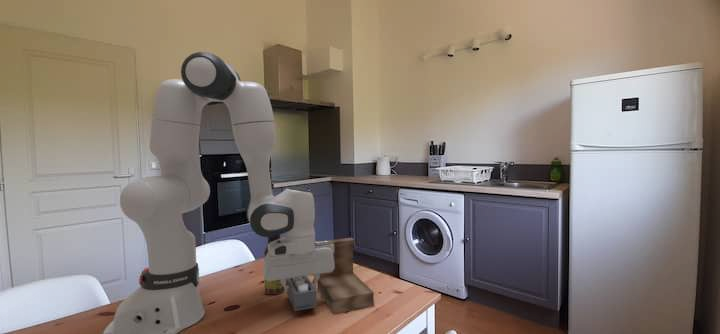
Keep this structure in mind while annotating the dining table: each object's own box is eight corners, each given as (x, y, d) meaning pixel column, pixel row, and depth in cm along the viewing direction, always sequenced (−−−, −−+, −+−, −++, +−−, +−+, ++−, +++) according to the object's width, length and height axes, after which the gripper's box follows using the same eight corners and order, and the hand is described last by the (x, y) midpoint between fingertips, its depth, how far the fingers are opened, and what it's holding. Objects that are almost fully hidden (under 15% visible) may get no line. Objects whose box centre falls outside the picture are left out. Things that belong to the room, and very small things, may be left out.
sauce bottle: (279, 296, 101) (277, 232, 100) (261, 294, 102) (259, 232, 101) (288, 287, 107) (286, 227, 106) (270, 286, 108) (269, 227, 107)
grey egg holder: (294, 311, 86) (294, 291, 86) (285, 290, 99) (285, 273, 99) (316, 306, 89) (316, 287, 88) (305, 287, 102) (305, 270, 101)
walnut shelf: (333, 314, 89) (332, 258, 88) (317, 289, 105) (316, 241, 105) (373, 306, 93) (372, 252, 92) (352, 283, 110) (351, 237, 109)
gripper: (331, 237, 100) (331, 281, 101) (262, 244, 92) (262, 292, 93) (337, 242, 94) (337, 289, 95) (264, 250, 87) (265, 301, 87)
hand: (300, 290), depth 94 cm, fingers closed on grey egg holder, 6 cm apart
